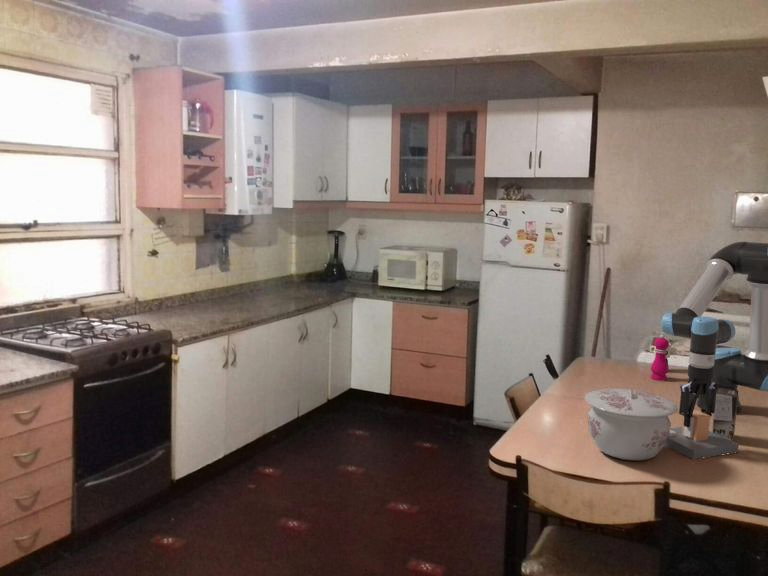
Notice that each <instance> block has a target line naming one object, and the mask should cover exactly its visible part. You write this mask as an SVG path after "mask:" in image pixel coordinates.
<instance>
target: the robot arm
mask: <svg viewBox="0 0 768 576" xmlns="http://www.w3.org/2000/svg"><path fill="white" fill-rule="evenodd" d="M738 274H740V275H745V276H746V275H747V279H746V280H747V282H748V283H749V284H750V286H751V295H750V300H751V301H750V313H749V314H750V317H749V332H748V333H749V335H748V348H747V349H746V350H745V351H743V353H742V350H741V349H740V348H736V347H717V345H720V344H721V345H722V344H725V343H729V341H731V340H733V338H734V337H735V335H736V327H735V325H734V324H733V323H732V322H731V321H730V320H727V319H722V318H719V319H717V318H715V317H710V316H703V314H704V313H705V312H706V311H707V309H708V307H709V305H710V304H711V303H712V301H713V300H714V298H715V297H716V295H718V293H719V291H720V290H721V288H722V287H723V285H724V284H725V282H726V281H729V280H730V279H732V278H733V276H734V275H738ZM660 322H661V323H660V327H661V330H662V332H663V333H664V334H665V335H670V336H673V337H680V338H686V339H690V342H689V343H690V346H689V354H688V367H687V376H688V380H687V383H686V384H681V385H679V389H680V401H679V408H678V409H679V410H678V413H679V415H680V416H684V426H685V427H684V435H685V436H688V437H690V438H692V431H693V420H694V418H692V414H693V411H694V410H695V406H696V405H697V406H698V407H699V408H700V410H701V411H700V412H702V413H705V414H707V415H709V416H710V418H711V417H712V416H713V414H714V412H715V402H716V392H717V390H718V388H724V389H733V390H738V386H741V387H743V388H744V387H745V388H749V389H753V390H757V391H760V392H768V242H767V243H766V242H750V241H736V242H733V243H730V244H728V245H725V246H724V247H722V248H721V249H719V250H717V252H715V253H714V254H713V255H712V256H711V257H710V258H709V259H708V261H707V263H706V265H705V271H704V272H703V273H702V275H701V276H700V278H699V279H698V280H697V282H696V283H695V284H694V285H693V287H692V289H691V290H690V291H689V293H688V294H687V296H686V297H685V298H684V300H682V303H681V305H680V306H679V307H678V309H677V310H676V311H675V312H666V313H665V314H664V315H663V316H662V318H661V321H660ZM741 409H742V404H741V401H740V396H739V395H738V401H737V412H738V413H739V412H741ZM737 412H736V414H737Z"/></svg>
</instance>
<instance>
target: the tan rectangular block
mask: <svg viewBox="0 0 768 576" xmlns="http://www.w3.org/2000/svg"><path fill="white" fill-rule="evenodd" d="M682 416H683V415H682ZM692 418H694V420H693V431H692V438H690V437H688V436H685V435H684V427H685V426H684V416H683V418H682V425H681V427H682V435H683V436H685V437H687V438H688V439H692V440H694V441H702V440H708V433H709V430H710V420H711V417H710V416H709V415H707V414H705V413H702V411H700V410H697V409H694V411H693V414H692Z"/></svg>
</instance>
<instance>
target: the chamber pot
mask: <svg viewBox="0 0 768 576" xmlns="http://www.w3.org/2000/svg"><path fill="white" fill-rule="evenodd" d="M584 401H585V402H586V403H587V404H588V405H589V406H591V407H590V408H589V409H588V415H587V424H588V425H587V426H588V432H589V435H590V436H591V438H592V440H593V442H594V444H595V445H596V447H597V448H598V449H599V450H600V451H601V452H602V453H604V454H606V455H608V456H610V457H613V458H616V459H619V460H625V461H635V462H637V461H646V460H650V459H652V458H654V457H656V455H658V453H660V451H661V450H662V449H663V447H664V446H665V444H666V443H667V440H668V437H669V434H670V429H671V428H672V427H671V426H672V422H671V419H670V417H669V416H671V415H674V414H675V413H676V412H677V411H679V410H678V409H679V408H678V407H677V404H675V403H674V402H673V401H671V399H670V400H669V399H668V398H666V397H663V396H661V395H658V394H655V393H651V392H646V391H642V390H638V389H632V388H602V389H596V390H592V391H589V392H588V393H586V394H585V395H584Z"/></svg>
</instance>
